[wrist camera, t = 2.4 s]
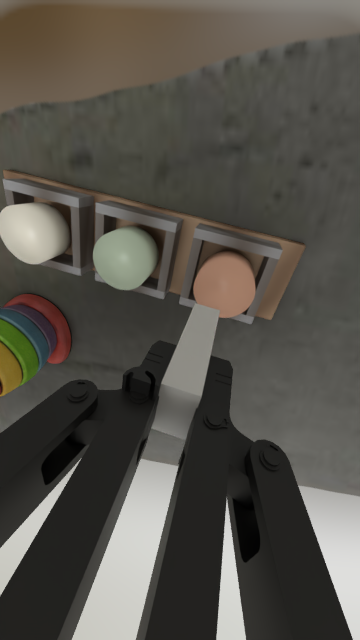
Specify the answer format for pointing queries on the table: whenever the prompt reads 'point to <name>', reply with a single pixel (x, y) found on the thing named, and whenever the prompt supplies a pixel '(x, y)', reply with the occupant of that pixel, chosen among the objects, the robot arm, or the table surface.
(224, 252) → the terracotta button
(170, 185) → the table surface
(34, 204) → the ivory button
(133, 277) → the sage button
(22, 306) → the stacking bear
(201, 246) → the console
